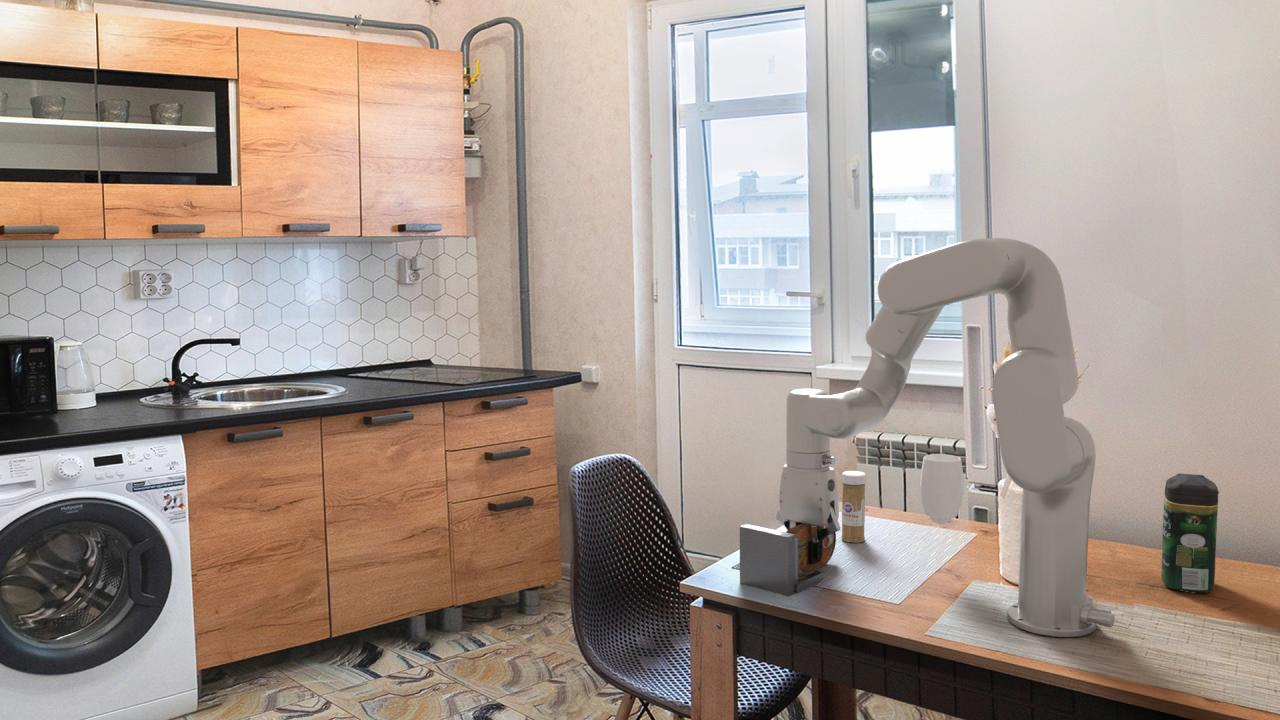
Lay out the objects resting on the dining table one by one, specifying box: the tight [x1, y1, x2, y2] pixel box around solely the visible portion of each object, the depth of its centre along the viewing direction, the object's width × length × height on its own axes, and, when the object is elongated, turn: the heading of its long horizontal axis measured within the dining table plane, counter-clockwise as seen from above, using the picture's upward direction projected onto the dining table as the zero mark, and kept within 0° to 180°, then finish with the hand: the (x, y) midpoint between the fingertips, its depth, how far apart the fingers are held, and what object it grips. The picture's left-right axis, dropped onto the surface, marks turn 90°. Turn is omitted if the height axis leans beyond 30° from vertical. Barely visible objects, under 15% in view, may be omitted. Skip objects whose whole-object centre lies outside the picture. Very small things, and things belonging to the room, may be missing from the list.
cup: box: [919, 453, 965, 525], centre depth 177 cm, size 7×7×21 cm
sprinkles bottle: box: [841, 470, 867, 544], centre depth 198 cm, size 5×5×13 cm
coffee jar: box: [1161, 473, 1220, 594], centre depth 169 cm, size 10×8×19 cm
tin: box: [785, 522, 837, 577], centre depth 181 cm, size 15×3×8 cm, turn 137°
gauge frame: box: [739, 523, 824, 597], centre depth 175 cm, size 11×10×10 cm
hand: (807, 559), depth 181 cm, fingers closed on tin, 2 cm apart
